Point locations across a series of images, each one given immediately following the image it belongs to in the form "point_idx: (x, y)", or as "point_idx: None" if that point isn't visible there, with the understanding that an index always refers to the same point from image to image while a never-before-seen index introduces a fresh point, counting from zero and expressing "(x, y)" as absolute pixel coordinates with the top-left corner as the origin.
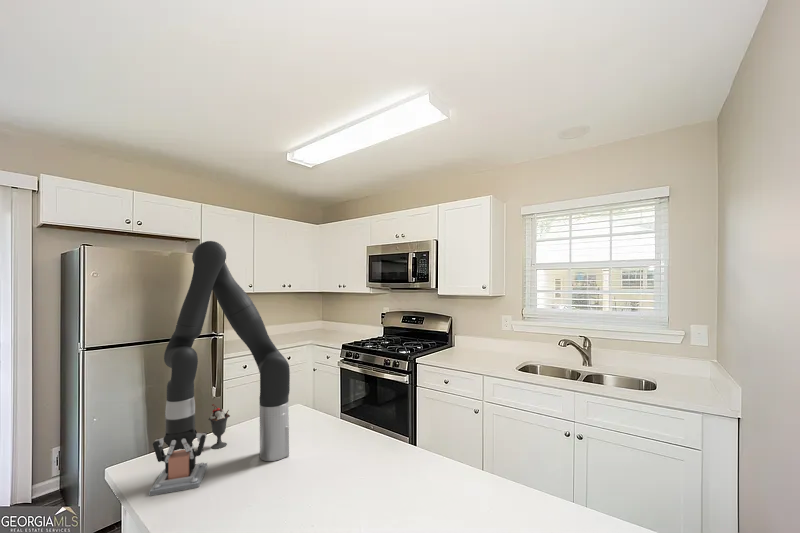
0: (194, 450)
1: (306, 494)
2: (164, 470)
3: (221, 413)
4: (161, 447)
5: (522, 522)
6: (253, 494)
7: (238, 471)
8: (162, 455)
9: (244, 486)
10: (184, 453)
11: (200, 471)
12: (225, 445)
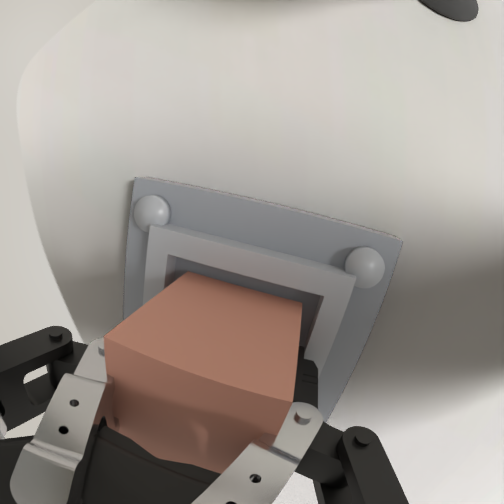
0: (307, 449)
1: (484, 500)
2: (137, 223)
3: None
4: (4, 388)
5: None
6: (428, 494)
7: (483, 375)
8: (56, 372)
9: (437, 466)
10: (215, 449)
11: (346, 342)
12: (476, 15)
